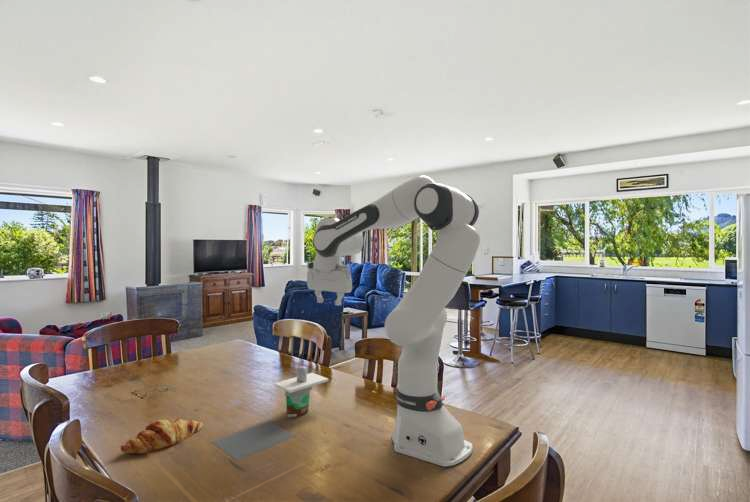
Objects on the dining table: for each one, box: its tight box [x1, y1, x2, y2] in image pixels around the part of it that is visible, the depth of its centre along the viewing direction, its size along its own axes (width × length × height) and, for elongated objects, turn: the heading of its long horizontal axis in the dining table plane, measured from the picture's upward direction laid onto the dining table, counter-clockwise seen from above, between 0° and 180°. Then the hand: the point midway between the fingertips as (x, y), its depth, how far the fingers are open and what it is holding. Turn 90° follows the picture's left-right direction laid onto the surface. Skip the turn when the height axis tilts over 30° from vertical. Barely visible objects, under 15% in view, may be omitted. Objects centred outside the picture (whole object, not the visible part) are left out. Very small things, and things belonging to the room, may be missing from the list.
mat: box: [211, 420, 296, 461], centre depth 113 cm, size 14×18×1 cm
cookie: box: [131, 383, 177, 399], centre depth 151 cm, size 12×12×1 cm
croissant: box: [120, 418, 204, 455], centre depth 112 cm, size 21×10×8 cm, turn 138°
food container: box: [284, 386, 313, 419], centre depth 131 cm, size 12×6×10 cm, turn 168°
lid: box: [273, 365, 329, 393], centre depth 130 cm, size 9×15×5 cm, turn 136°
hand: (329, 303), depth 140 cm, fingers open, 8 cm apart
